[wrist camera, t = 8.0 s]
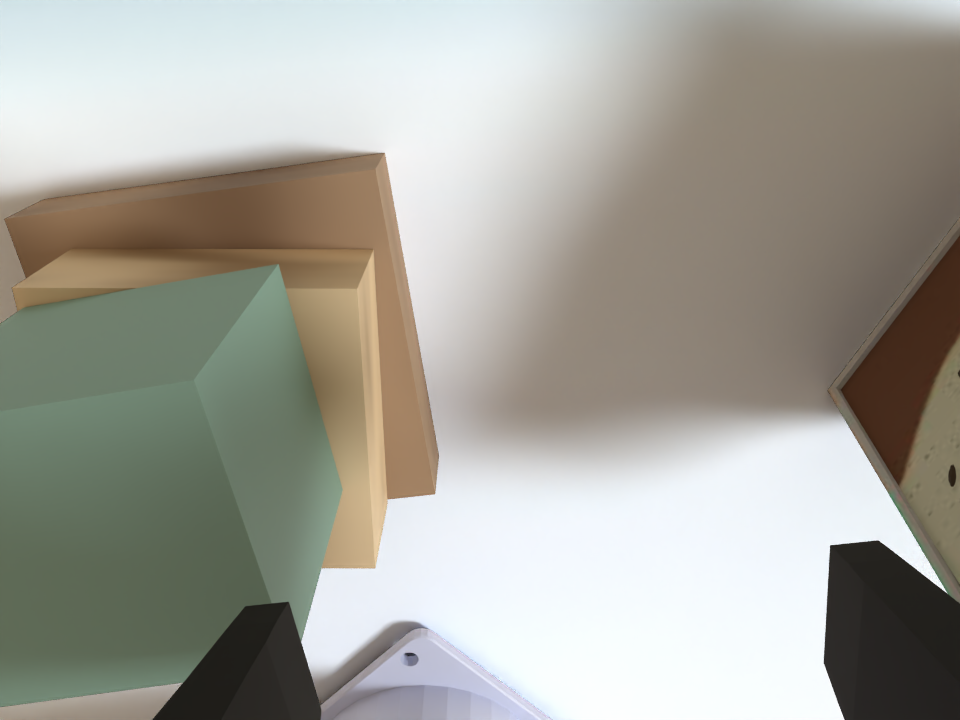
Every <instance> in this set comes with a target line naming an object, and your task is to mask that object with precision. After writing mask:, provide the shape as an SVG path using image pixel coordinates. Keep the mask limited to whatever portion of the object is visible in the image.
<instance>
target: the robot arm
mask: <svg viewBox="0 0 960 720" xmlns="http://www.w3.org/2000/svg"><path fill="white" fill-rule="evenodd" d="M405 653H414V654H416V655H415V656H407V655H405ZM824 665H825V667H826V670H827V673H828V676H829V679H830V681H831V684H832V687H833V690H834V692H835V695H836V698H837V701H838V704H839V706H840V709H841V711H842V714H843V717H844V719H845V720H960V603H959V602H957V601H956V600H955V599H954V598H952V597H951V596H950V595H948V594H947V593H946V592H944V591H943V590H942V589H940V588H939V587H938V586H937V585H935V584H934V583H933V582H931V581H930V580H929V579H928V578H926V577H925V576H924V575H922V574H921V573H920V572H919V571H917V570H916V569H915V568H914V567H912V566H911V565H910V564H908V563H907V562H906V561H905V560H903V559H902V558H901V557H899V556H898V555H897V554H895V553H894V552H893V551H892V550H890V549H889V548H888V547H886V546H885V545H884V544H882V543H881V542H880V541H868V542H859V543H849V544H839V545H830V559H829V577H828V596H827V614H826V632H825V650H824ZM153 720H552V719H551V718H549V717H548V716H547V715H545V714H544V713H543V712H541V711H540V710H539V709H537V708H536V707H535V706H533V705H532V704H530V703H529V702H528V701H526V700H525V699H524V698H522V697H521V696H520V695H518V694H517V693H516V692H514V691H513V690H512V689H510V688H509V687H508V686H506V685H505V684H503V683H502V682H501V681H499V680H498V679H497V678H495V677H494V676H493V675H491V674H490V673H489V672H487V671H486V670H485V669H483V668H482V667H481V666H479V665H478V664H477V663H475V662H474V661H472V660H471V659H470V658H468V657H467V656H466V655H464V654H463V653H462V652H460V651H459V650H458V649H456V648H455V647H454V646H452V645H451V644H450V643H448V642H447V641H445V640H444V639H443V638H441V637H440V636H439V635H437V634H436V633H435V632H433V631H431V630H429V629H425V628H418V629H414V630H412V631H410V632H409V633H408V634H406V635H405V636H404V637H403V638H401V639H400V640H399V641H398V642H397V643H395V644H394V645H393V646H392V647H391V648H389V649H388V650H387V651H386V652H384V653H383V654H382V655H381V656H380V657H378V658H377V659H376V660H375V661H374V662H372V663H371V664H370V665H369V666H367V667H366V668H365V669H364V670H363V671H361V672H360V673H359V674H358V675H357V676H355V677H354V678H353V679H352V680H351V681H349V682H348V683H347V684H346V685H344V686H343V687H342V688H341V689H340V690H338V691H337V692H336V693H335V694H334V695H332V696H331V697H330V698H329V699H327V700H326V701H325V702H324V703H323V704H321V705H320V704H319V700H318V697H317V694H316V690H315V687H314V684H313V680H312V677H311V674H310V670H309V667H308V664H307V660H306V657H305V654H304V650H303V647H302V644H301V640H300V637H299V634H298V630H297V627H296V624H295V620H294V617H293V614H292V610H291V607H290V604H289V602H280V603H271V604H261V605H251V606H245V607H244V608H243V610H242V611H241V612H240V613H239V614H238V616H237V617H236V618H235V619H234V620H233V622H232V623H231V624H230V625H229V626H228V628H227V629H226V630H225V631H224V633H223V634H222V635H221V636H220V637H219V639H218V640H217V641H216V642H215V644H214V645H213V646H212V647H211V649H210V650H209V651H208V652H207V654H206V655H205V656H204V657H203V659H202V660H201V661H200V662H199V664H198V665H197V666H196V667H195V669H194V670H193V671H192V672H191V674H190V675H189V676H188V677H187V679H186V680H185V681H184V682H183V684H182V685H181V686H180V687H179V688H178V690H177V691H176V692H175V693H174V694H173V696H172V697H171V698H170V699H169V700H168V702H167V703H166V704H165V705H164V706H163V708H162V709H161V710H160V711H159V712H158V714H157V715H156V716H155V717H154V718H153Z"/></svg>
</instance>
